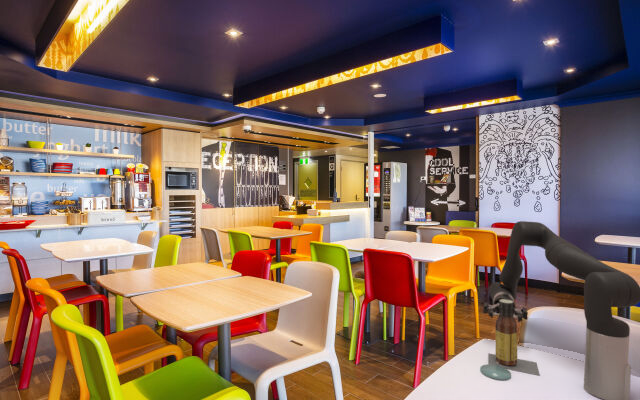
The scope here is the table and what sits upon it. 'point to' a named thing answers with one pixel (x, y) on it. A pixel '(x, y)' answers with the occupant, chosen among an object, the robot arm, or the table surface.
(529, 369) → the grey card
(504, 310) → the sauce bottle
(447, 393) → the table surface
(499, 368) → the sage green round disc
